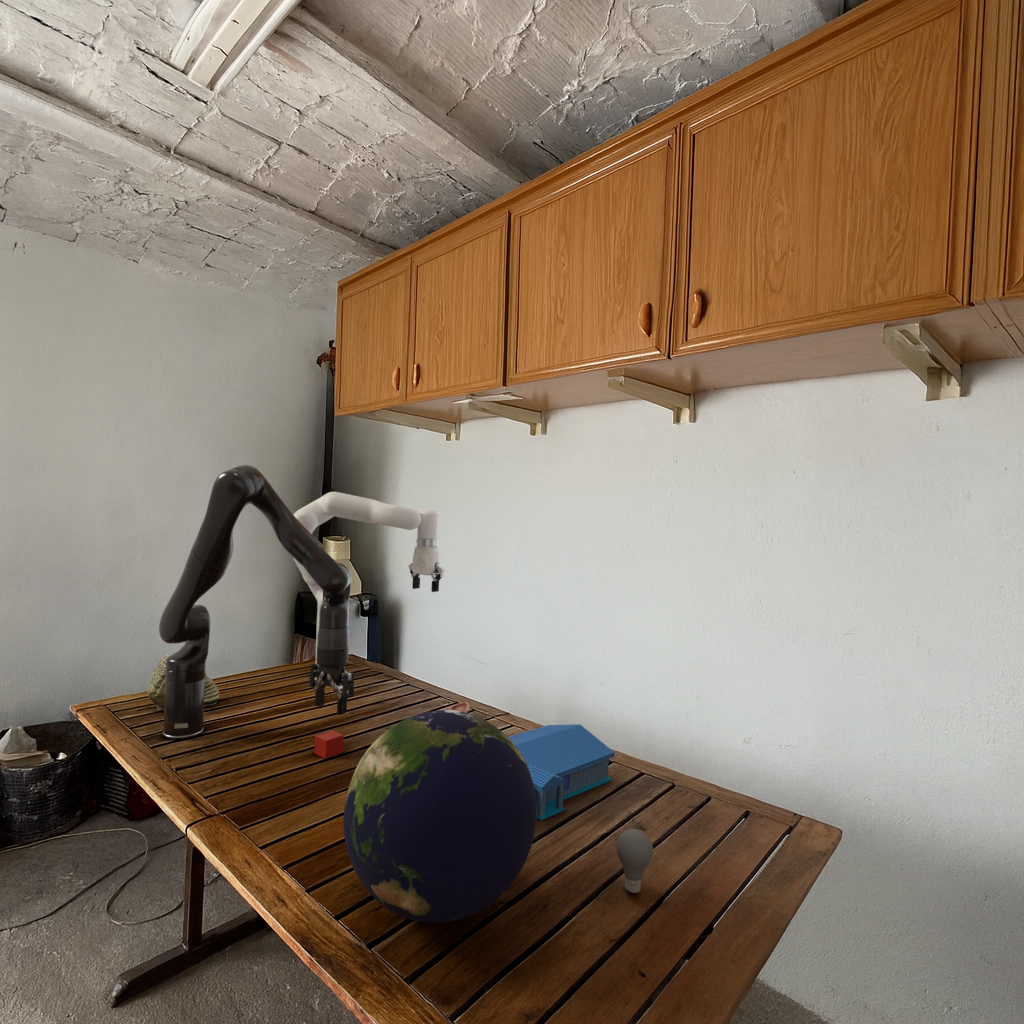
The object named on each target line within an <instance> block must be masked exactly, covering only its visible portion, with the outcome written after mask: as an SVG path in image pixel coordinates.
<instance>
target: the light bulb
mask: <svg viewBox="0 0 1024 1024" xmlns="http://www.w3.org/2000/svg"><path fill="white" fill-rule="evenodd" d="M615 849H616V854H617V857H618V859H619V861H620V863H621V865H622V867H623V873H624V874H623V875H624V876H625V878H624V888H625V890H627V891H628V892H630V893H634V894H635V893H639V892H640V891H641V889H642V887H641V886H642V879H643V877H644V875H645V871H646V868H647V867H648V866H649V864H650V863H651V861H652V859H653V855H654V847H653V843H652V841H651V838H649V836H648V835H647V834H646V833H645V832H643V831H642V830H641V829H636V828H629V829H627V830H625V831H623V832H622V833H621V834H620V835H619V837H618V839H617V841H616V847H615Z"/></svg>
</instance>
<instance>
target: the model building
mask: <svg viewBox="0 0 1024 1024" xmlns="http://www.w3.org/2000/svg"><path fill="white" fill-rule="evenodd" d="M507 737H508V738H509V739H510V740H511V741H512V742H513V744H514V745H515V746H516V747H517V749H518V750H519V751H520V753H521V755H522V756H523V758H524V760H525V762H526V764H527V766H528V769H529V772H530V774H531V778H532V781H533V785H534V790H535V795H536V806H537V817H536V820H539V821H543V820H546V819H549V818H551V817H553V816H555V815H558V814H559V813H562V812H564V811H565V810H566V809H565V807H564V805H563V804H564V801H565V800H568V799H570V798H572V797H575V796H577V795H580V794H582V793H585V792H587V791H589V790H591V789H594V788H597V787H599V786H601V785H603V784H606V783H609V782H610V781H612V779H613V778H612V777H610V776H609V766H610V765H609V763H610V759H612V758H614V757H615V751H613V750H612V749H611V748H610V747H609V746H608V745H606V744H605V743H604V742H603V741H601V740H600V738H598V737H597V736H595V735H594V734H593V733H592V732H591V731H589V730H588V729H587V728H586V727H584V726H583V725H582V724H580V723H578V724H576V723H575V724H548V725H547V724H546V725H544V726H541V727H537V728H533V729H530V730H526V731H524V732H520V733H517V734H514V735H513V734H512V735H510V736H507Z"/></svg>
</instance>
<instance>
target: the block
mask: <svg viewBox="0 0 1024 1024" xmlns="http://www.w3.org/2000/svg"><path fill="white" fill-rule="evenodd" d="M344 736H345V735H344V734H342V733H341V732H338V731H335V730H333V729H331V730H329V731H325V732H322V733H319V734H316V735H314V749H313V750H314V751H313V752H314V753H313V754H314V755H316V756H318V757H320V758H323V759H329V758H332V757H335V756H337V755H340V754H343V753H344V741H345V740H344V738H345V737H344Z"/></svg>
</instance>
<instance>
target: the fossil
mask: <svg viewBox="0 0 1024 1024" xmlns="http://www.w3.org/2000/svg"><path fill="white" fill-rule="evenodd" d="M170 655H171V654H165V655H164V656H163V657H162V658H161V659H160V660H159V662H158V663H157V666H156V667H155V669H154V670H153V672H152V675H151V677H150V680H149V684H148V688H147V697H148V699H149V700H150V701H152V703H153V704H154V706H155V711H158V712H159V711H162V712H163V711H164V705H165V674H166V660H167V658H168V657H169V656H170ZM220 698H221V696H220V690H219V688H218V686H217V685H216V683H215V682H214V681H213V679H212V678H211V677H209V675H208V674H207V672H206V671H205V693H204V707H207V706H213V705H215V704H217V703H218V701H219V699H220Z"/></svg>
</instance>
